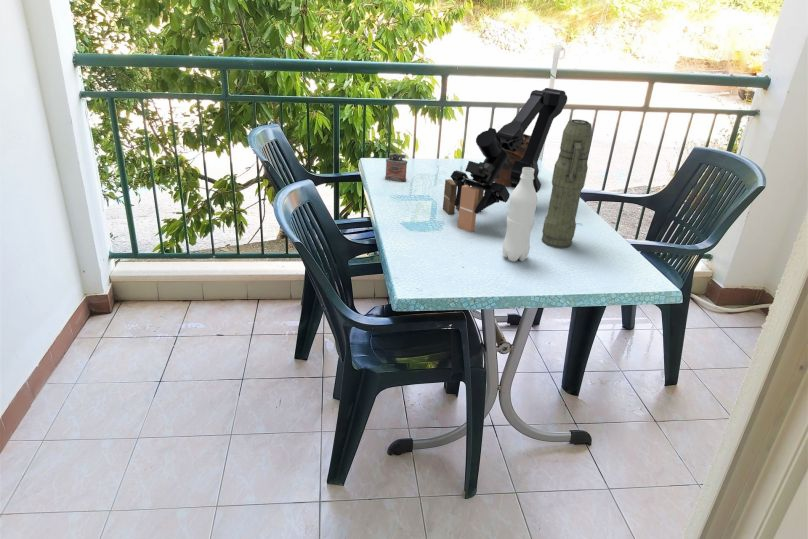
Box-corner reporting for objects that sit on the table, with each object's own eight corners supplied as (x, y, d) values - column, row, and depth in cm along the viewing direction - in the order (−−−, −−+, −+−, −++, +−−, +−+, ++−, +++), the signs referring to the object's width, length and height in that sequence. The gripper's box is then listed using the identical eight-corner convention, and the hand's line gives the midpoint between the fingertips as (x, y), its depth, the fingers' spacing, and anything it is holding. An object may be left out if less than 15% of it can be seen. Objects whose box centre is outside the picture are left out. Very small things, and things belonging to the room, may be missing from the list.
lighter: (383, 179, 208) (384, 153, 204) (386, 177, 211) (387, 150, 206) (404, 182, 206) (406, 155, 202) (407, 180, 209) (408, 153, 205)
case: (533, 175, 222) (540, 130, 214) (537, 192, 205) (544, 143, 196) (488, 172, 224) (493, 127, 216) (487, 188, 207) (493, 139, 198)
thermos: (567, 234, 170) (591, 117, 154) (575, 251, 160) (602, 127, 144) (538, 232, 170) (558, 115, 155) (544, 248, 160) (567, 125, 144)
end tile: (461, 225, 172) (465, 184, 166) (474, 230, 169) (479, 189, 163) (457, 227, 171) (461, 186, 165) (470, 232, 168) (475, 190, 162)
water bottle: (509, 249, 158) (522, 163, 147) (532, 257, 154) (547, 169, 143) (496, 257, 153) (508, 168, 142) (519, 266, 149) (534, 175, 138)
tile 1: (474, 206, 188) (478, 177, 183) (481, 212, 184) (485, 182, 179) (469, 207, 187) (472, 178, 183) (475, 212, 183) (479, 183, 178)
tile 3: (448, 208, 185) (451, 179, 180) (454, 214, 181) (457, 184, 176) (442, 209, 184) (445, 179, 180) (448, 214, 180) (451, 184, 175)
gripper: (457, 143, 168) (430, 186, 165) (509, 158, 157) (481, 204, 154) (470, 164, 176) (445, 205, 174) (521, 180, 165) (494, 223, 163)
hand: (465, 209), depth 166 cm, fingers open, 7 cm apart
